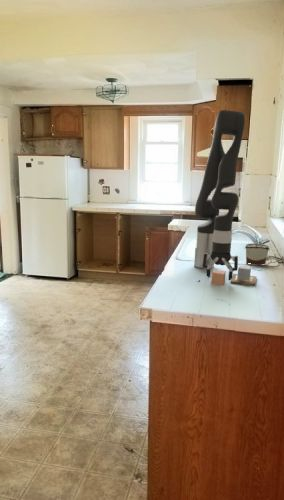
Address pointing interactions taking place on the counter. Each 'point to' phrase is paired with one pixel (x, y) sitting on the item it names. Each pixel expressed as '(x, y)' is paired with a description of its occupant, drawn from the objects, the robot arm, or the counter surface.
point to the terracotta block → (218, 277)
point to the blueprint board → (243, 282)
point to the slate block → (244, 272)
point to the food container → (256, 253)
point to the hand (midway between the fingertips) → (219, 278)
